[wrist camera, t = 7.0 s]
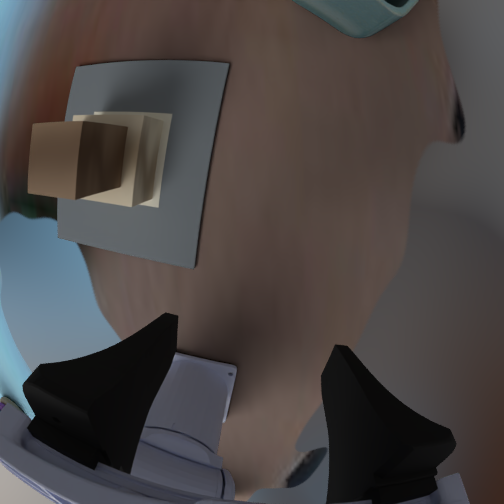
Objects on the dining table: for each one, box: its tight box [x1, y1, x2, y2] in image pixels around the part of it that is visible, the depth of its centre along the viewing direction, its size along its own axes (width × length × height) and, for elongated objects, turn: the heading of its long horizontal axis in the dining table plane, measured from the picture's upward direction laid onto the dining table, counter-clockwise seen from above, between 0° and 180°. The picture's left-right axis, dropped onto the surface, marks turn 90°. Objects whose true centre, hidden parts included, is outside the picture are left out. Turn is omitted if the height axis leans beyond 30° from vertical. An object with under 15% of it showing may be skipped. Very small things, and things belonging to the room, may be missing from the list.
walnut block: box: [28, 121, 128, 200], centre depth 14 cm, size 4×4×5 cm
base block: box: [73, 115, 163, 207], centre depth 18 cm, size 6×6×4 cm
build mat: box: [57, 60, 230, 269], centre depth 20 cm, size 16×14×1 cm
